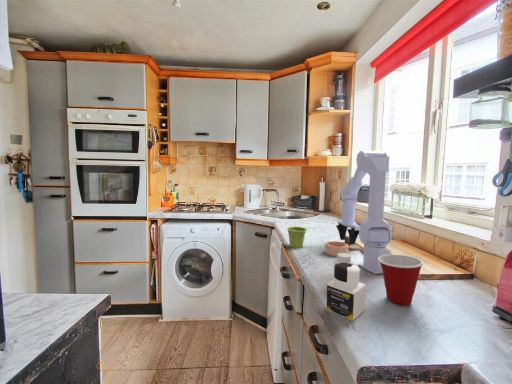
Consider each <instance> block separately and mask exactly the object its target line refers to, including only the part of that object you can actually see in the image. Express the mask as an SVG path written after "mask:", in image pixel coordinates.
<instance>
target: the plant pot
mask: <svg viewBox="0 0 512 384" xmlns="http://www.w3.org/2000/svg"><path fill="white" fill-rule="evenodd" d="M286 230H287V233H288V241H289V247H291V248H294V249H297V248H298V249H301V248H303V247H304V240H305V235H306V232H307V228H305V227H302V226H288V227H287V228H286Z"/></svg>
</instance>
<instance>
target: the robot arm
mask: <svg viewBox="0 0 512 384" xmlns="http://www.w3.org/2000/svg"><path fill="white" fill-rule="evenodd" d="M355 162H356V166H357V167H356V170H355V172H354V174H353V176H350V178H349V179H348V181H347V184H346V185H345V186H344V187H341V189H340V195H339V197H340V199H341V201H342V202H341V219H337V225H336V226H335V227H336V229H337V232H338V234H339V238H340V241H345V236H347V234H348V236H349V241H350V244H351V245H352V244H356V241H357V238H359V241H360V242H361V243H362V244H363V262H360V263H359V262H358V263H357V265H358V266H360V267H361V268H363V269H365V270H366V271H369V272H370V273H372V274H374V275H380V274H383V270H382V266H381V264H380V262H379V261H378V257H380V256H383V255H393V254H392V252H391V251H390V249H388V248H387V247H388V244H390V242H391V240H392V238H393V236H392V234H393V233H392V232H391V224H390V223H389V222H388V221H386V220H385V219H384V209H385V208H384V207H385V195H386V194H385V191H386V180H387V179H386V178H387V177H386V176H387V173H388V172H389V167H390V155H389V154H388V153H387V151H385V150H377V151H376V150H359V152H358V153H357V155H356V161H355ZM367 174H368V176H369V188H368V205H367V218H365V219H364V220H363V221H361V223H360V225H359V224H357V222H356V221H355V219H356V204H357V201H358V197H359V190H361V187H362V186H363V183H364V182H363V180H364V178H365V176H366V175H367Z"/></svg>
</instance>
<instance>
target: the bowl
mask: <svg viewBox="0 0 512 384" xmlns="http://www.w3.org/2000/svg"><path fill="white" fill-rule="evenodd" d="M344 242H345V241H335V240H332V241H327V242H326V243H325V244H324V247H325V248H324V249H325V251H324V252H325V253H326V255H329V256H330V257H335V258H337V254H338V253H347V254H349V251H348V244H346V243H344Z"/></svg>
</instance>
